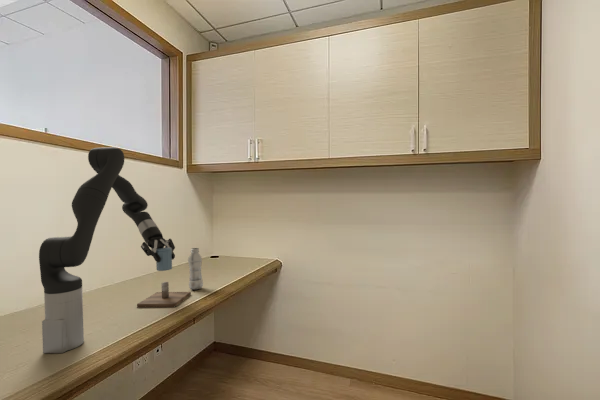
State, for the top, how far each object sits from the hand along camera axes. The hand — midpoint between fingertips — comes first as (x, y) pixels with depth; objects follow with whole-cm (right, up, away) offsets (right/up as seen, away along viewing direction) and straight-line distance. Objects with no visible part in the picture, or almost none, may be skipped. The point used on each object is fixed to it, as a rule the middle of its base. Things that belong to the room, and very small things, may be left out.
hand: (166, 259), depth 133 cm
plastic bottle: (+7, -18, +18) cm, 26 cm away
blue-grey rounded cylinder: (-1, -4, +1) cm, 5 cm away
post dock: (-1, -18, +1) cm, 18 cm away
